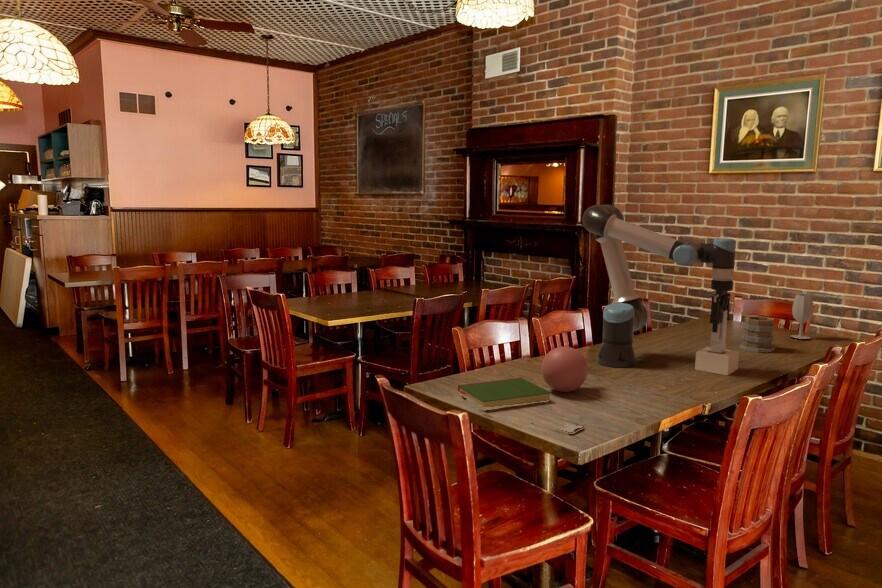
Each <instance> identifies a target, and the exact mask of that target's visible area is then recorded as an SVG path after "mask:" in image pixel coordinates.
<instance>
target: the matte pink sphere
mask: <svg viewBox="0 0 882 588" xmlns="http://www.w3.org/2000/svg"><path fill="white" fill-rule="evenodd" d="M590 360H591V359H590V357H588V356H587V357H584V355H583V354H582V353H581V352H580V351H579V350H577V349H575V348H573V347H570V346H557V347H555V348H553V349H551V350H550V351H548V353H546V355H544V358H543V359H542V363H541V375H542V378H543V380H544V382H545V384H547V385H548V387H549V388H551V389H552V390H555V391H557V392H559V393H560V392H561V393H570V392H573V391H576V390H577V389H579V388H580V387H581V386H582V385H584V383H585V382H586V379H587V376H588V371H589V370H588V363H587V362H590Z"/></svg>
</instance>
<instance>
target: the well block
mask: <svg viewBox="0 0 882 588" xmlns="http://www.w3.org/2000/svg"><path fill="white" fill-rule="evenodd" d="M710 350H711V346H706V347H703V348H702V349H699V350H698V351H695V362H694V363H695V364H694V370H695V371H700V372H705V371H706V373H712V374H718V375H723V376H729V375H731V374H732V373H734V372H736V371H737V370H738V369H739V359H740V351H738V350H732V349H726V348H725V354H718V353H711V352H710ZM735 370H736V371H735Z"/></svg>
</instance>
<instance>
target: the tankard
mask: <svg viewBox="0 0 882 588" xmlns="http://www.w3.org/2000/svg"><path fill="white" fill-rule="evenodd" d="M741 316H742V318H743V317H744V322H743V323H742V334H741V339H742V341H743V342H742V343H740V344H739V347H740V348H739V349H741V348H742V349H741V350H743V349H744V350H743V351H745V350H747V351H746V352H749V351H753V352H752V353H755V352H770V353H773V352H774V351H775V346H773V345H772V343H773V342H774V335H773V331H775V324H774V319H773V318H770V317H767V316H758V315H757V316H754V315H753V316H752V315H751V316H750V315H749V312H748V311H743V312H742V313H741ZM772 351H773V352H772Z"/></svg>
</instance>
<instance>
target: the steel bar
mask: <svg viewBox="0 0 882 588" xmlns="http://www.w3.org/2000/svg"><path fill="white" fill-rule="evenodd" d="M727 311H728V310H721V315H720V321H719V324H720V333H719V341H713V340H711V339H710V347H711V350H710V352H711V353H718V354H725V349H726V339H727V328H726V326H727V325H728V321H727ZM714 320H715V319H714ZM727 327H728V326H727Z"/></svg>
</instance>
